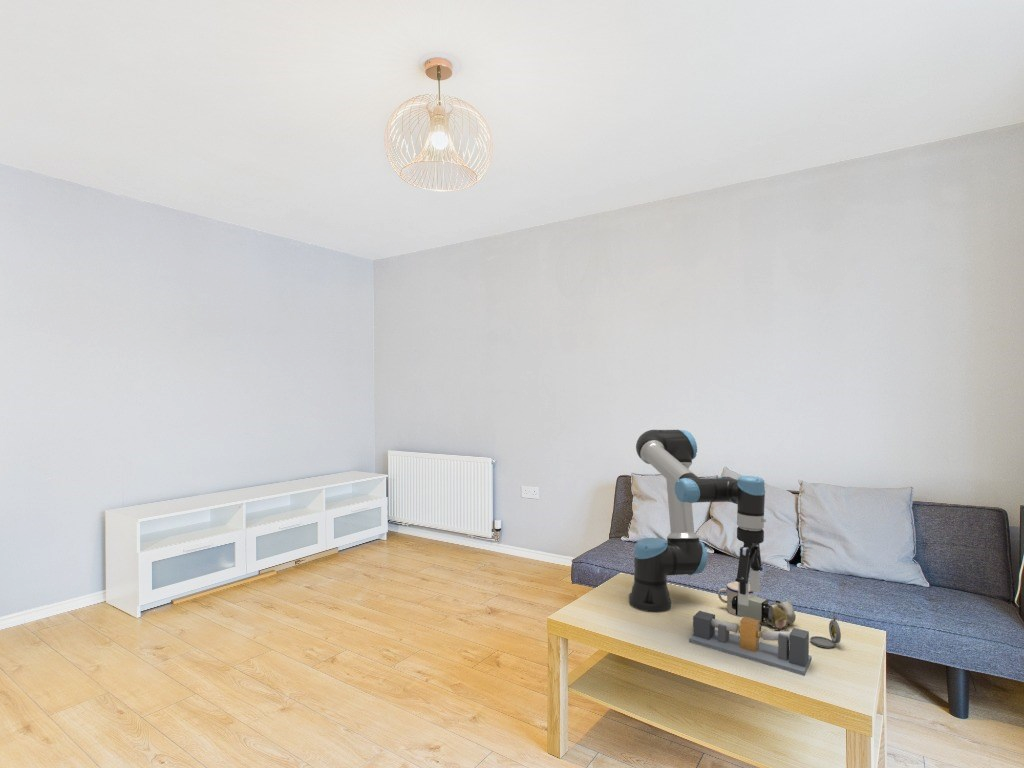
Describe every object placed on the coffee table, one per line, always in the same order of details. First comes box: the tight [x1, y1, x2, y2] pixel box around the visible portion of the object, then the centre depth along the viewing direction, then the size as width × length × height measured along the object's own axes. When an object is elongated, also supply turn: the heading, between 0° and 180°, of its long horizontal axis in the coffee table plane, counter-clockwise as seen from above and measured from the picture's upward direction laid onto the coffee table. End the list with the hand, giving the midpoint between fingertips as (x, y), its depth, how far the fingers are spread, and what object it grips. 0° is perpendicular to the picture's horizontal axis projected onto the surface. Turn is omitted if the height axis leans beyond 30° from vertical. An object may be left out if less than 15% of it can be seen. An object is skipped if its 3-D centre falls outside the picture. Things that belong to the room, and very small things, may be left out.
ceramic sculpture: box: [760, 600, 796, 631], centre depth 181 cm, size 11×9×15 cm
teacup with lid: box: [717, 581, 754, 617], centre depth 193 cm, size 12×9×12 cm
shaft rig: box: [688, 610, 812, 676], centre depth 163 cm, size 32×12×9 cm, turn 53°
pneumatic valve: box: [732, 594, 773, 633], centre depth 177 cm, size 6×12×12 cm, turn 45°
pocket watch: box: [809, 612, 842, 649], centre depth 168 cm, size 8×8×10 cm
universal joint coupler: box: [738, 617, 762, 652], centre depth 162 cm, size 6×4×8 cm
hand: (749, 597), depth 163 cm, fingers open, 13 cm apart
